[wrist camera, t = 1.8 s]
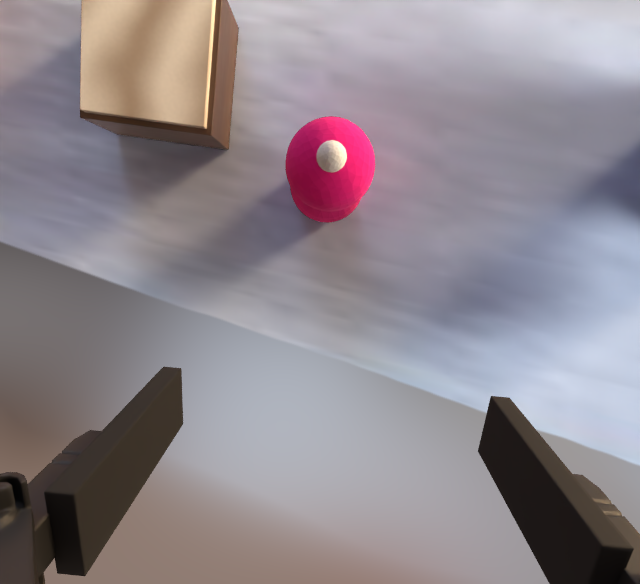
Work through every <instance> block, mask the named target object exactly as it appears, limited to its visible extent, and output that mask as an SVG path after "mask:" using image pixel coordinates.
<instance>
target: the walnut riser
mask: <svg viewBox="0 0 640 584" xmlns="http://www.w3.org/2000/svg"><path fill="white" fill-rule="evenodd" d="M238 29H239V28H238V25H237V23H236V20H235V18H234V16H233V13H232V11H231V8H230V6H229V3H228V1H227V0H82V8H81V73H80V117H81V118H82V119H85V120H87V121H89V122H91V123H93V124H95V125H98V126H100V127H102V128H104V129H106V130H109V131H111V132H113V133H115V134H117V135H124V136H131V137H139V138H146V139H153V140H160V141H168V142H175V143H182V144H189V145H197V146H204V147H211V148H219V149H226V150H228V149H229V137H230V125H231V113H232V101H233V89H234V77H235V65H236V53H237V41H238Z"/></svg>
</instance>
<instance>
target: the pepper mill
mask: <svg viewBox="0 0 640 584" xmlns="http://www.w3.org/2000/svg"><path fill="white" fill-rule="evenodd" d="M374 170H375V156H374V151H373V148H372V145H371V143H370V141H369V139H368V138H367V136H366V135H365V133H364V132H363V131H362V130H361V129H360V128H359V127H358V126H357V125H355V124H354V123H352V122H350V121H349V120H347V119H343V118H340V117H332V116H330V117H322V118H319V119H315V120H313V121H311V122H309V123H307V124H306V125H305V126H303V127H302V128H301V129H300V130H299V131H298V132H297V133H296V134H295V136H294V137H293V139H292V140H291V143H290V145H289V147H288V151H287V155H286V174H287V178H288V181H289V184H290V188H291V194H292V197H293V200H294V202H295V204H296V206H297V207H298V208H299V210H300V211H301V212H302V213H303V214H304V215H306V216H307V217H309V218H311V219H313V220H315V221H319V222H335V221H338V220H341V219H343V218H345V217H347V216H348V215H349V214H350V213H352V212H353V210H354V209H355V208H356V207H357V205H358V204H359V202H360V199H361V197H362V196H363V195H364V194H365V193H366V191H367V190H368V188H369V186H370V185H371V182H372V179H373V175H374Z"/></svg>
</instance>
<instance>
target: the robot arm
mask: <svg viewBox="0 0 640 584" xmlns="http://www.w3.org/2000/svg"><path fill="white" fill-rule="evenodd" d="M182 425H183V408H182V377H181V368H171V367H163V368H162V369H161V370H160V371H159V372H158V373H157V374H156V375H155V376H154V377H153V378H152V379H151V380H150V382H148V383H147V385H146V386H145V387H144V388H143V389H142V390H141V391H140V392H139V393H138V394H137V395H136V396H135V397H134V398H133V399H132V400H131V401H130V402H129V403H128V404H127V405H126V406H125V408H124V409H123V410H122V411H121V412H120V413H119V414H118V415H117V416H116V417H115V418H114V419H113V420H112V421H111V422H110V423H109V424H108V425H107V426H106V427H105V428H104V429H103V431H93V430H90V431H88V432H86V433H85V434H83V435H81V436H79V437H78V438H76V439H74V440H73V441H72V442H71V443H70V444H69V445H68V446H67V447H66V448H65V449H64V450H63V451H62V453H60V454H59V455H58V456H56V457H55V458H54V459H53V460H52V463H50V464H48V465H47V466H46V467H45V468H44V469H43V470H42V471H41V472H40V473H39V474H38V475H37V476H36V477H35V478H34V479H33V480H32V481H31V482H30V483H29V484H27V480H26V478H25V476H24V475H22V474H20V473H17V472H16V473H15V472H14V473H13V472H12V473H11V472H6V473H2V474H0V584H45V579H44V573H43V572H44V571H45V569H46V568H47V567H48V566H49V564H50V563H51V562H52V560H53V559H54V558H55V561H56V568H57V573H59V574H69V575H79V576H85V575H86V574H87V572H88V571H89V569H90V568H91V566H92V565H93V563H94V562H95V560H96V558H97V557H98V555H99V554H100V552H101V550H102V549H103V547H104V546H105V544H106V543H107V541H108V540H109V538H110V536H111V535H112V534H113V532H114V530H115V529H116V527H117V526H118V524H119V523H120V521H121V520H122V518H123V516H124V515H125V513H126V512H127V510H128V509H129V507H130V506H131V504H132V502H133V501H134V499H135V498H136V496H137V495H138V493H139V491H140V490H141V488H142V487H143V485H144V484H145V482H146V481H147V479H148V478H149V476H150V474H151V473H152V471H153V470H154V468H155V467H156V465H157V464H158V462H159V460H160V459H161V457H162V456H163V454H164V453H165V451H166V450H167V448H168V446H169V445H170V443H171V442H172V440H173V439H174V437H175V436H176V434H177V432H178V431H179V429H180V428H181V426H182ZM478 452H479V454H480V456H481V458H482V459H483V461H484V463H485V464H486V467H487V469H488V470H489V472H490V474H491V476H492V478H493V480H494V482H495V483H496V485H497V487H498V489H499V491H500V493H501V495H502V496H503V498H504V500H505V502H506V504H507V506H508V508H509V509H510V511H511V513H512V515H513V517H514V518H515V521H516V522H517V524H518V526H519V528H520V530H521V531H522V533H523V535H524V537H525V539H526V541H527V543H528V544H529V546H530V548H531V550H532V552H533V554H534V556H535V558H536V559H537V561H538V563H539V565H540V567H541V569H542V570H543V572H544V574H545V576H546V578H547V580H548V582H549V583H550V584H640V534H639V533H638V532H637V531H636V529H635V528H634V527H633V526H632V525H631V524H630V523H629V521H628V520H627V519H626V518H625V517H624V516H622V514H621V512H620V511H619V510H618V509H617V508H616V507H615V505H613V504H611V501H610V500H609V499H608V497H607V496H606V495H605V494H604V493H603V492H602V491H601V489H600V488H599V487H597V486H596V485H595V484H593V483H592V482H591V481H589V480H588V479H587V478H585V477H584V476H583V475H578V474H572V473H571V472H570V471H569V470H568V468H567V467H566V466H565V465H564V464H563V462H562V461H561V460H560V459H559V457H558V456H557V455H556V454H555V452H554V451H553V450H552V449H551V448H550V447H549V445H548V444H547V443H546V442H545V440H544V439H543V438H542V437H541V436H540V434H539V433H538V432H537V431H536V429H535V428H534V427H533V426H532V425H531V423H530V422H529V421H528V420H527V419H526V417H525V416H524V415H523V414H522V413H521V411H520V410H519V409H518V408H517V406H516V405H515V404H514V403H513V402H512V400H511V399H510V398H506V397H495V396H491V398H490V403H489V407H488V411H487V415H486V420H485V424H484V428H483V432H482V436H481V441H480V445H479V449H478Z"/></svg>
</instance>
